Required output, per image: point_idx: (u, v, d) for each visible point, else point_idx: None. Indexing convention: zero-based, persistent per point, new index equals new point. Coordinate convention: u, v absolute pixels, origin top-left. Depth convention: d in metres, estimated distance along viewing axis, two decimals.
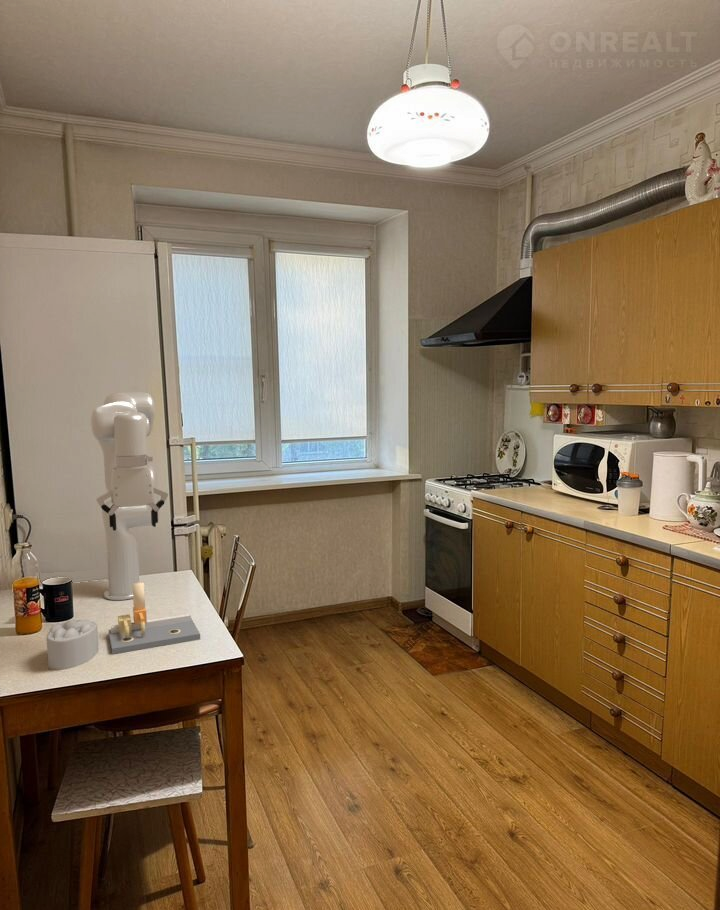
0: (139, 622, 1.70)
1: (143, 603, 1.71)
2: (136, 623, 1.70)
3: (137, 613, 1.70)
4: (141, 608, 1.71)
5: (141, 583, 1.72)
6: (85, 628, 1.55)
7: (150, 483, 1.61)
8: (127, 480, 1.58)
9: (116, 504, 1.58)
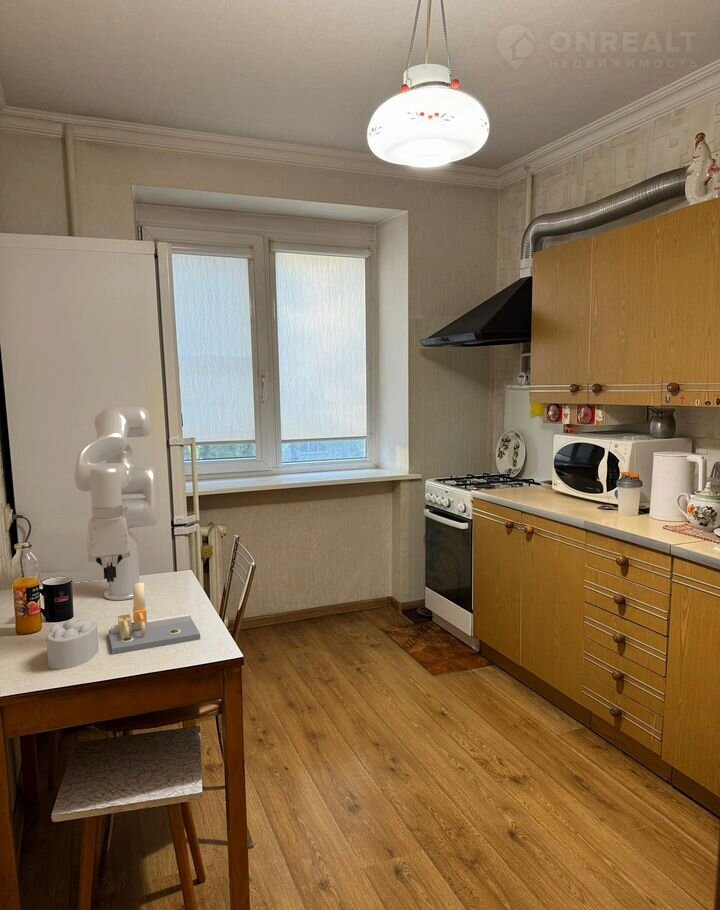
0: (139, 622, 1.70)
1: (143, 603, 1.71)
2: (136, 623, 1.70)
3: (137, 613, 1.70)
4: (141, 608, 1.71)
5: (141, 583, 1.72)
6: (84, 628, 1.55)
7: (125, 533, 1.67)
8: (102, 531, 1.64)
9: (92, 554, 1.64)
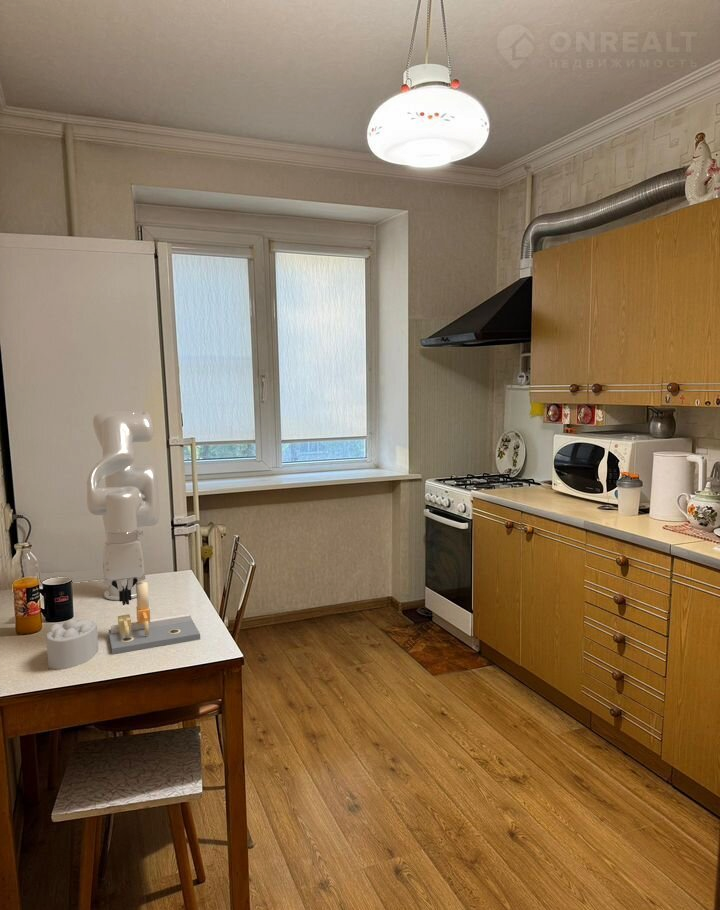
0: (142, 621, 1.71)
1: (146, 602, 1.72)
2: (140, 622, 1.70)
3: (141, 612, 1.70)
4: (144, 607, 1.71)
5: (144, 583, 1.72)
6: (84, 628, 1.55)
7: (140, 557, 1.69)
8: (118, 555, 1.66)
9: (108, 578, 1.66)
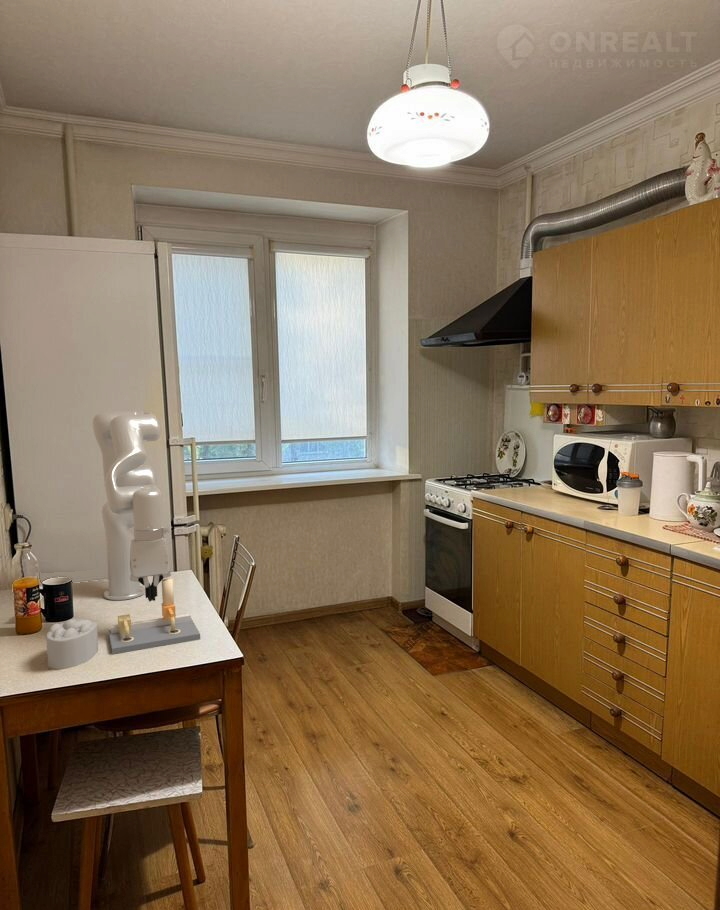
0: (168, 617, 1.74)
1: (172, 599, 1.75)
2: (165, 618, 1.73)
3: (166, 609, 1.73)
4: (170, 604, 1.74)
5: (170, 579, 1.75)
6: (84, 628, 1.55)
7: (166, 554, 1.72)
8: (145, 552, 1.69)
9: (135, 575, 1.69)
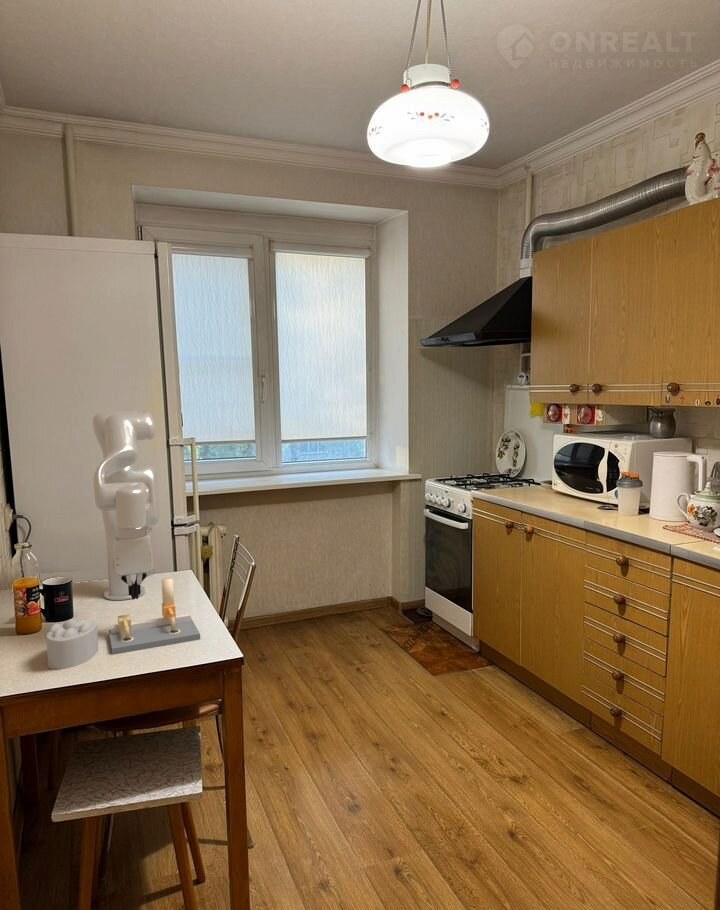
0: (168, 617, 1.74)
1: (172, 599, 1.75)
2: (165, 618, 1.73)
3: (166, 609, 1.73)
4: (170, 604, 1.74)
5: (170, 579, 1.75)
6: (84, 628, 1.55)
7: (150, 552, 1.71)
8: (128, 550, 1.68)
9: (117, 573, 1.68)
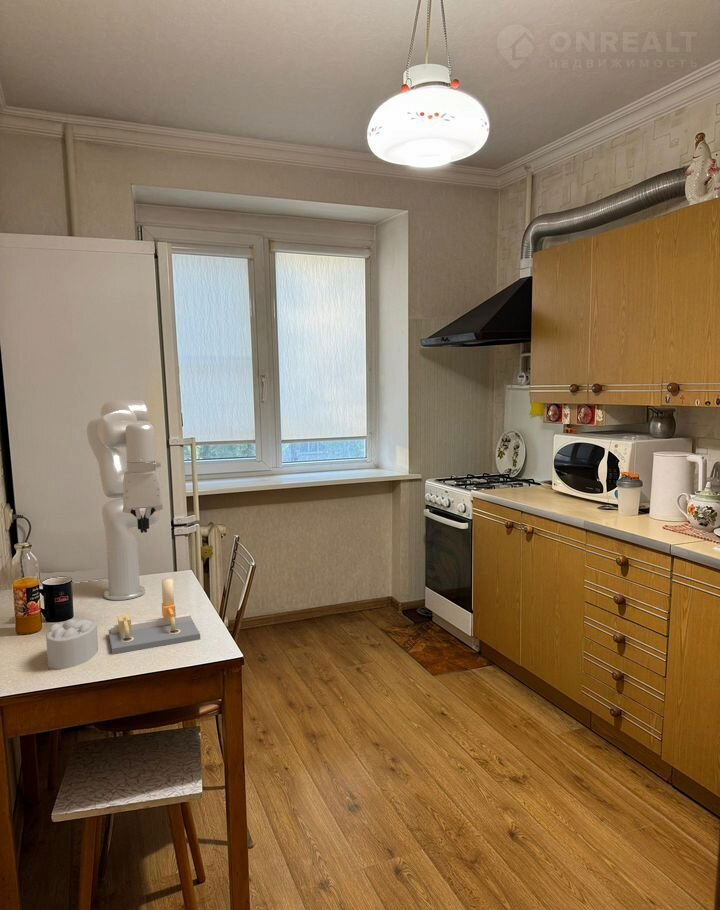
0: (168, 617, 1.74)
1: (172, 599, 1.75)
2: (165, 618, 1.73)
3: (166, 609, 1.73)
4: (170, 604, 1.74)
5: (170, 579, 1.75)
6: (84, 628, 1.55)
7: (158, 487, 1.76)
8: (137, 484, 1.73)
9: (127, 506, 1.73)
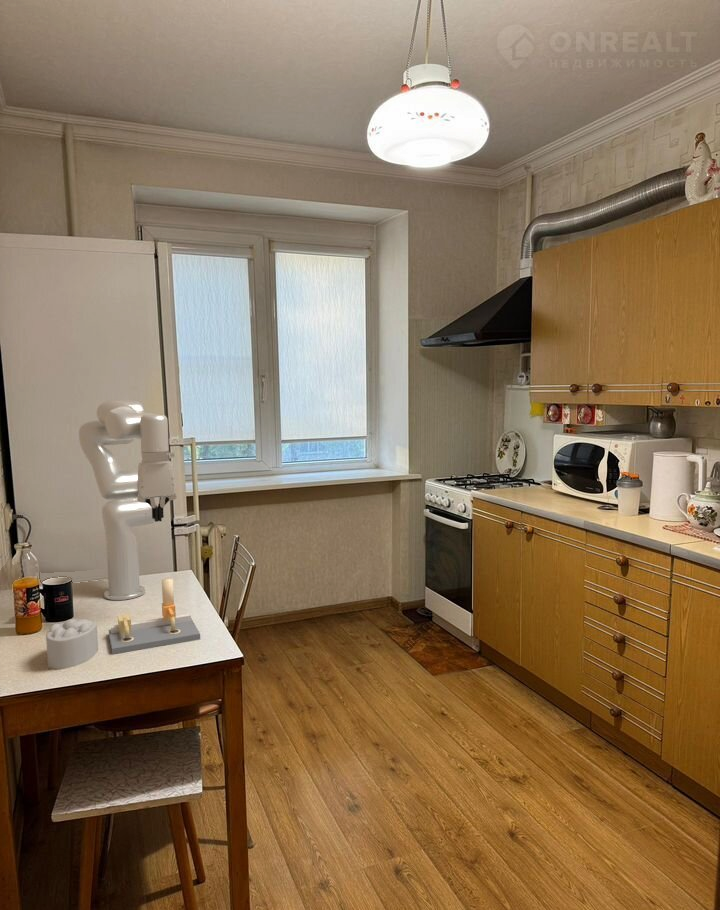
0: (168, 617, 1.74)
1: (172, 599, 1.75)
2: (165, 618, 1.73)
3: (166, 609, 1.73)
4: (170, 604, 1.74)
5: (170, 579, 1.75)
6: (84, 628, 1.56)
7: (172, 476, 1.80)
8: (152, 473, 1.77)
9: (142, 495, 1.77)
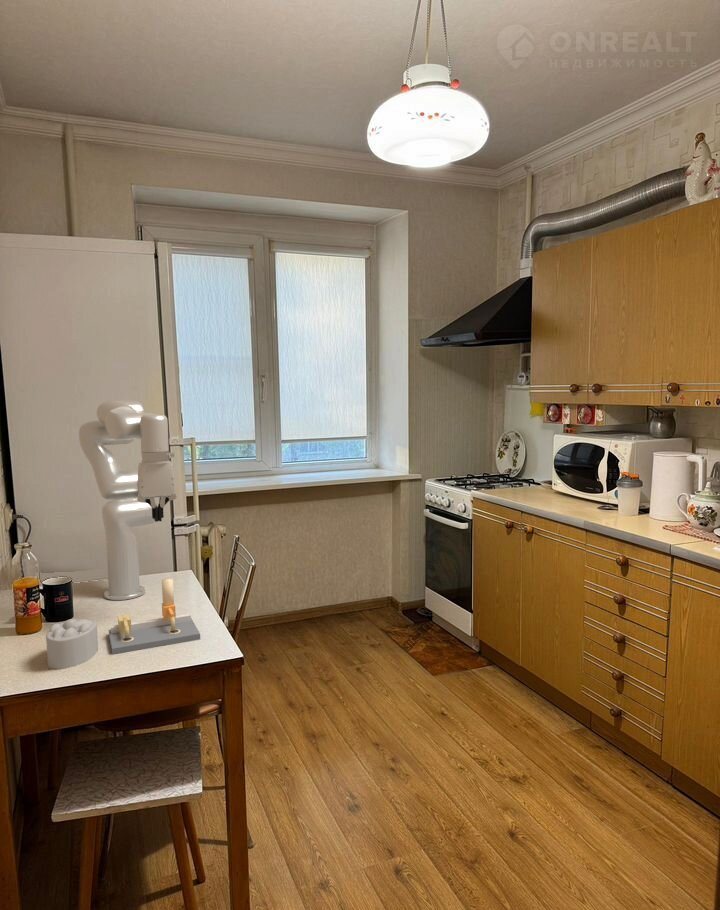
0: (168, 617, 1.74)
1: (172, 599, 1.75)
2: (165, 618, 1.73)
3: (166, 609, 1.73)
4: (170, 604, 1.74)
5: (170, 579, 1.75)
6: (84, 628, 1.56)
7: (172, 476, 1.80)
8: (152, 473, 1.77)
9: (142, 495, 1.77)
